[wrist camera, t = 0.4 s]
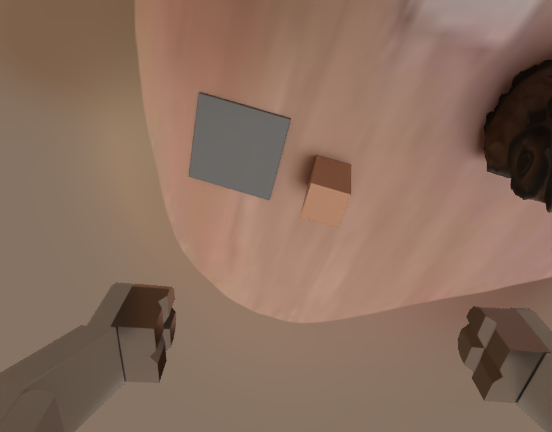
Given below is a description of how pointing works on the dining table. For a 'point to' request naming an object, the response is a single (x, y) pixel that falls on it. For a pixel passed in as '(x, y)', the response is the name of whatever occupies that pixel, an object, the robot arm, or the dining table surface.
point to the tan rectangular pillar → (327, 191)
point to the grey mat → (237, 146)
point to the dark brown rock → (524, 135)
